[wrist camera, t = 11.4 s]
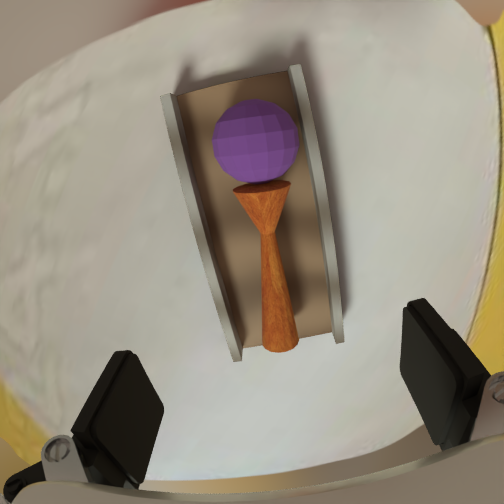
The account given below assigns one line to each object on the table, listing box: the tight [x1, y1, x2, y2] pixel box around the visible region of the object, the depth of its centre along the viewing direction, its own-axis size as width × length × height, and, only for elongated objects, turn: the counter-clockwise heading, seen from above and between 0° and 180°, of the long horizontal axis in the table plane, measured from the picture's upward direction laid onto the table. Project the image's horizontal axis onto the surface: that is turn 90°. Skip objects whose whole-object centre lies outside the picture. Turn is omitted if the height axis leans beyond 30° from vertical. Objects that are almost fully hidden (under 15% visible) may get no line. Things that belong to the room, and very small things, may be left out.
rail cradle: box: [160, 64, 344, 362], centre depth 26 cm, size 24×11×3 cm, turn 12°
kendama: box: [212, 99, 299, 353], centre depth 24 cm, size 6×6×20 cm
